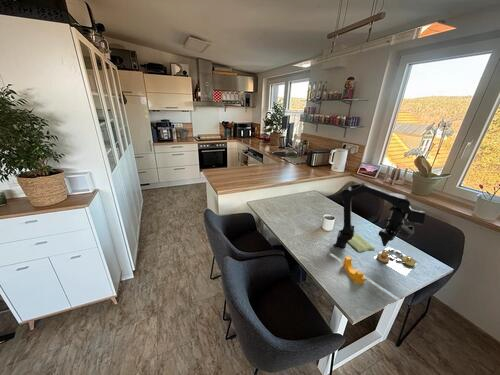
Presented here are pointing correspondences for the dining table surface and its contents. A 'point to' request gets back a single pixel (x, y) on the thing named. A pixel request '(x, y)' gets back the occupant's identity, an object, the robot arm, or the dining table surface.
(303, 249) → the dining table surface
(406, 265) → the carrier plate
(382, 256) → the bronze flanged knob
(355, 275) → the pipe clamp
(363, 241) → the washcloth
